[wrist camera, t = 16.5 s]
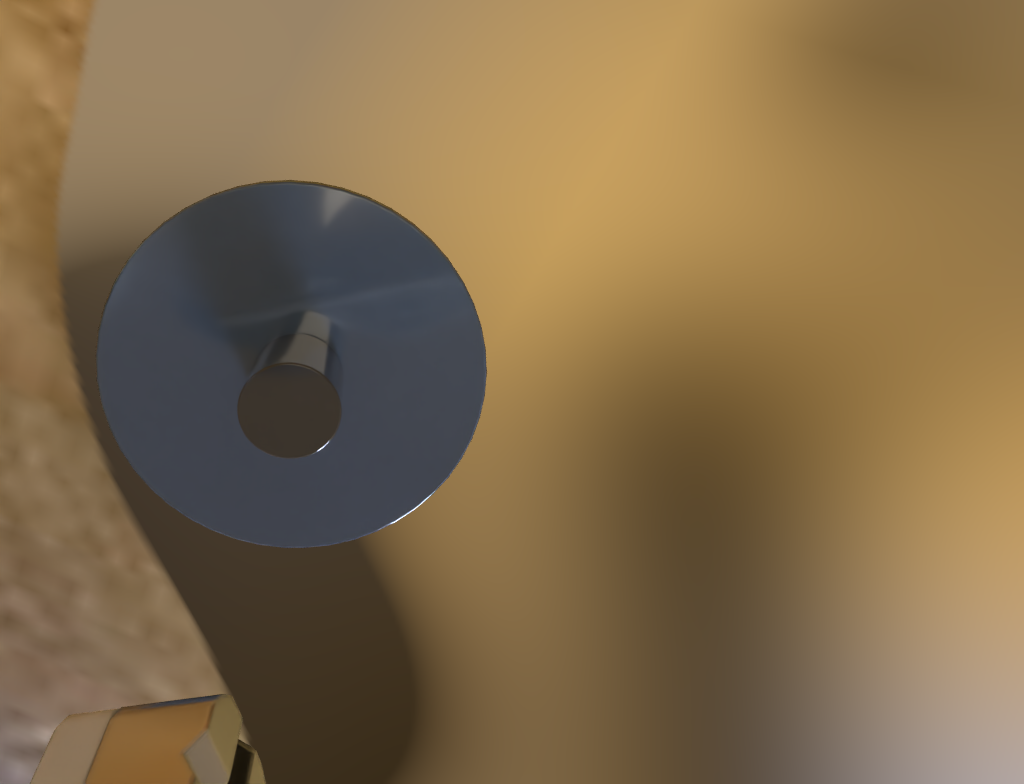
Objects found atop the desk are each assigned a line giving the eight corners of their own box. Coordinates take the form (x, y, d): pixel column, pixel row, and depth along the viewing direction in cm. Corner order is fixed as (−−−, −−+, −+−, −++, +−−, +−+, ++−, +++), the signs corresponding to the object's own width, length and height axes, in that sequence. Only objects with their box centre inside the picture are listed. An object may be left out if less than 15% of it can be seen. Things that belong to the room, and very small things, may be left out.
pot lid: (373, 582, 27) (375, 662, 23) (43, 435, 24) (-20, 497, 20) (546, 298, 25) (581, 331, 21) (213, 101, 22) (181, 96, 18)
